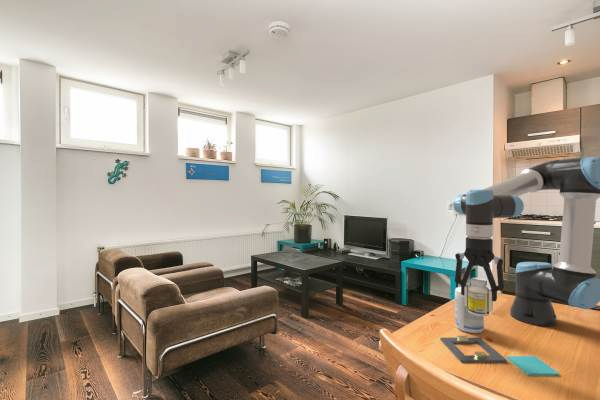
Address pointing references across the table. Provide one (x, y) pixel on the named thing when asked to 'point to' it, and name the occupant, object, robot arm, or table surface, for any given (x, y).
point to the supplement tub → (466, 316)
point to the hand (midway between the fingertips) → (478, 307)
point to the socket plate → (478, 356)
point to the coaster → (532, 366)
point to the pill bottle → (478, 297)
